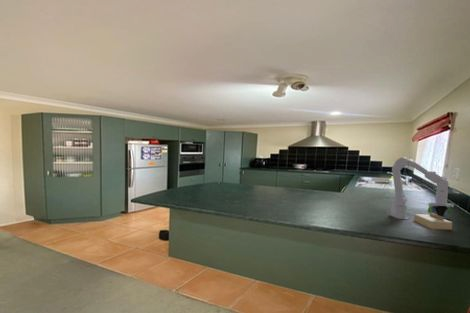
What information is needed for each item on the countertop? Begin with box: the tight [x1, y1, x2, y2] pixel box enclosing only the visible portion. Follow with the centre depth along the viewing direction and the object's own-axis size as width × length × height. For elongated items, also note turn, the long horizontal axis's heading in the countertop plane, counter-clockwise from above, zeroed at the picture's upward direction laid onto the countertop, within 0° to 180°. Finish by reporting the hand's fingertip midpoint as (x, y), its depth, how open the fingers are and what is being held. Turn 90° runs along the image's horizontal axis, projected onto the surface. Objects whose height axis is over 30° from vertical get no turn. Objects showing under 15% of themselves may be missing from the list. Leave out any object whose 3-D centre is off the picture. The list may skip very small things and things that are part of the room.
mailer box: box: [413, 214, 453, 230], centre depth 154 cm, size 16×12×4 cm
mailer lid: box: [413, 213, 453, 224], centre depth 153 cm, size 16×12×3 cm
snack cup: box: [427, 201, 451, 220], centre depth 170 cm, size 16×10×10 cm
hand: (440, 217), depth 153 cm, fingers closed
